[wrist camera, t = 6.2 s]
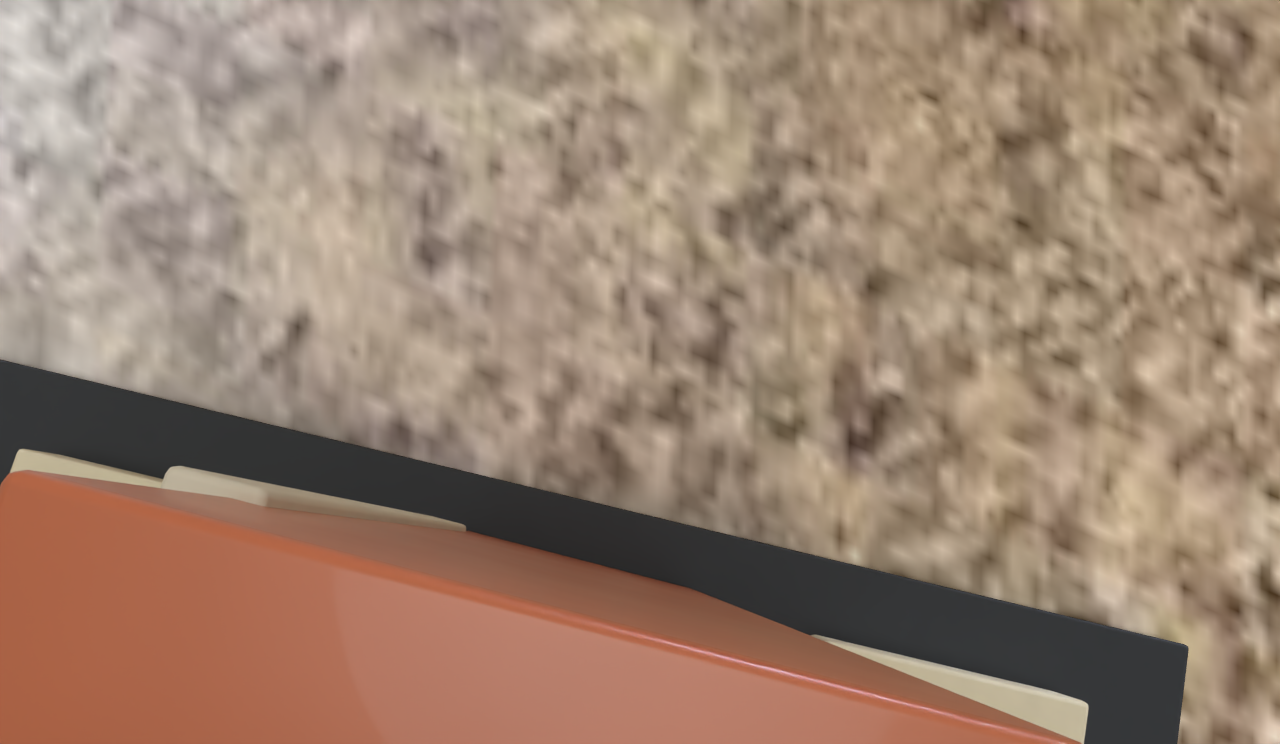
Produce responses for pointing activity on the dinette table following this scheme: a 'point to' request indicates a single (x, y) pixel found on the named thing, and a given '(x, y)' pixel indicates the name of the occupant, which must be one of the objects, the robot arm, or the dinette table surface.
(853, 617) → the dark grey base plate
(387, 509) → the upright orange brick
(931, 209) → the dinette table surface
